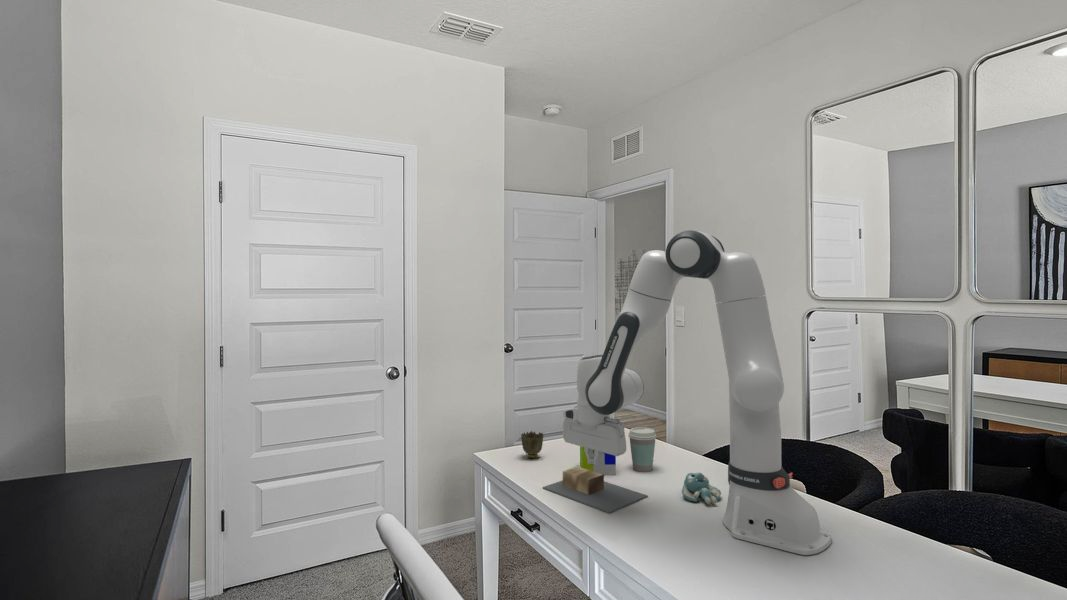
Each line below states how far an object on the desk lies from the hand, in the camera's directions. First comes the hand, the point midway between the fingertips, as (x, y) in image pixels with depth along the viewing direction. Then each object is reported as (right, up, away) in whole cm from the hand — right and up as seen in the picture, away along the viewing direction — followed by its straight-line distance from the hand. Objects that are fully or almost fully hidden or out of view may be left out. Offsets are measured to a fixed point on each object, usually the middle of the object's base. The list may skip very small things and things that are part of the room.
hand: (593, 464), depth 148 cm
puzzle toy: (+3, -8, +19) cm, 21 cm away
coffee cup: (+17, -8, +20) cm, 27 cm away
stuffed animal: (+28, -8, -5) cm, 29 cm away
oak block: (+1, -5, -1) cm, 5 cm away
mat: (0, -8, 0) cm, 8 cm away
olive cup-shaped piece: (-17, -8, +32) cm, 37 cm away
